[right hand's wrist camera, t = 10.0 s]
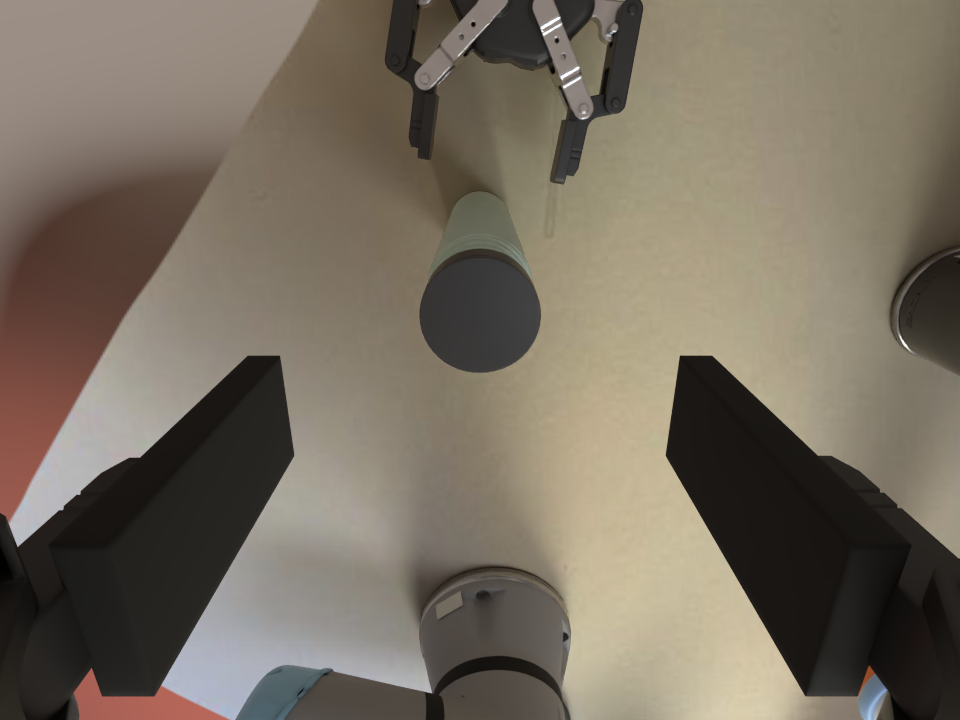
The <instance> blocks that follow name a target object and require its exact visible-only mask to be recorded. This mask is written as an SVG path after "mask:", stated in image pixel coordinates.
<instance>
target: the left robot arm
mask: <svg viewBox="0 0 960 720" xmlns="http://www.w3.org/2000/svg"><path fill="white" fill-rule="evenodd" d="M450 1H451V3H452V5H453V8H454V10H455V12H456V14H457V17H458V19H459V21H460V22H459V23H458V24H457V26H456V27H455V28H454V29H453V30H452V31H451V32H450V33H449V34H448V35H447V37H446V38H445V39H444V40H443V41H442V42H441V44H440V45H439V47H438V48H437V49H436V51H435V52H434V53H433V54H432V55H431V56H430V57H429V58H428V59H427V60H426V62H425V63H424V64H423V65H422V64H420V63H419V62H417V61H416V60H414V59H412V56H413V50H414V44H415V38H416V32H417V26H418V20H419V13H420V8H424V9H425V8H429V7H430V6H431V5H432V4H433V2H434V0H394V1H393V8H392V15H391V22H390V28H389V35H388V42H387V48H386V55H385V64H386V66H387V68H388V69H389V70H390V71H392V72H393V73H394V74H396V75H397V76H399V77H401V78H402V79H404V80H406V81H407V82H409V83H410V85H411V86H412V88H413V93H414V94H413V104H412V113H411V122H410V131H409V140H410V144H411V147H416V148H418V158H420V159H426V160H430V159H431V156H432V149H433V141H434V133H435V125H436V118H437V110H438V102H439V96H438V95H436V90H437V88H438V87H439V86H440V85H441V84H442V83H443V81H444V80H445V79H446V78H447V77H448V76H449V75H450V74H451V73H452V72H453V71H454V70H455V69H456V68H457V67H459V66H460V64H461V63H462V62H463V61H464V60H465V59H466V58H467V57H468V56H469V55H470V54H471V53H472V52H473V51H474V53H475V54H476V55H477V56H478V57H480V58H481V59H483V61H484V62H489V63H494V64H498V63H508V62H509V63H511V64H513V65H515V66H517V67H519V68H521V69H526V70H531V71H534V69H539V68H542V67H544V66H546V67H547V69H548V72H549V74H550V76H551V79H552V81H553V83H554V85H555V87H556V88H557V90H558V92H559V95H560V97H561V99H562V102H563V104H564V106H565V109H566V111H567V116H566V120H562V122H561V127H560V131H559V136H558V141H557V146H556V151H555V156H554V161H553V166H552V170H551V176H550V181H551V182H552V183H557V184H564V182H565V179H566V175H569V176H574V174H575V173H576V171H577V170H578V167H579V163H580V158H581V154H582V149H583V144H584V140H585V135H586V131H587V127H588V125H589V123H590V122H591V121H592V120H593V119H594V118H596V117H600V116H606V115H611V114H617V113H620V112H621V111H622V110H623V109H624V107H625V104H626V99H627V94H628V88H629V83H630V77H631V72H632V67H633V61H634V56H635V50H636V45H637V40H638V34H639V29H640V23H641V18H642V13H643V4H642V2H641V1H640V0H626V1H615V0H450ZM589 20H593V21H594V22H595V23H596V24H597V26H598V36H599V39H600V40H601V42H603V43H604V44H608V45H607V51H606V57H605V63H604V68H603V74H602V80H601V86H600V92H599V95H595V96H590V95H589V93H588V90H587V88H586V85H585V83H584V80H583V78H582V75H581V69H580V66H579V64H578V61H577V59H576V56H575V54H574V51H573V49H572V47H571V44H570V40H571V39H572V38H573V37H574V36H575V35H576V34H577V33H578V32H579V31H580V30H581V29H582V28H583V27H584V26H585V25H586V24H587V22H588V21H589ZM891 324H892V329H893V333H894V335H895V337H896V339H897V341H898V342H899V344H900V345H901V346H902V347H903V348H904V349H906V350H907V351H908V352H910V353H912V354H914V355H916V356H918V357H920V358H923V359H926V360H929V361H931V362H933V363H935V364H937V365H939V366H941V367H943V368H945V369H946V370H948V371H950V372H952V373H954V374H956V375H958V376H960V246H958V247H954V248H950V249H947V250H944V251H942V252H940V253H938V254H936V255H934V256H932V257H931V258H929V259H927V260H926V261H925V262H923V263H922V264H921V265H919V266H918V267H917V268H916V269H915V270H914V271H913V272H912V273H911V274H910V275H909V276H908V278H907V279H906V280H905V282H904V283H903V284H902V286H901V288H900V289H899V291H898V293H897V295H896V298H895V300H894V303H893V307H892V313H891Z"/></svg>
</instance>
